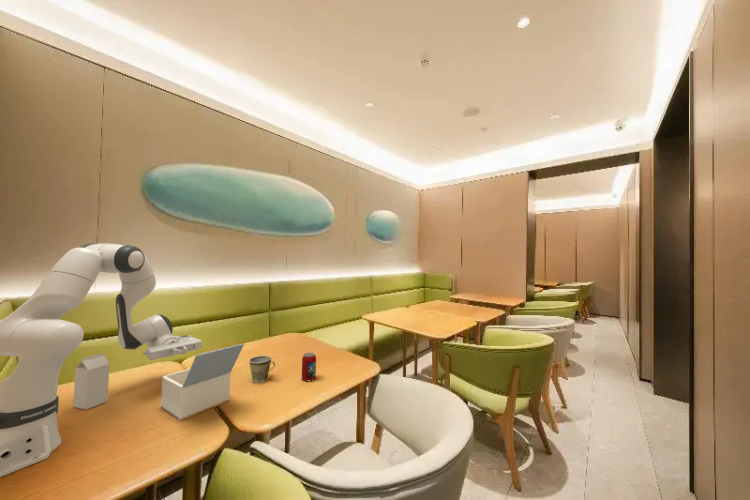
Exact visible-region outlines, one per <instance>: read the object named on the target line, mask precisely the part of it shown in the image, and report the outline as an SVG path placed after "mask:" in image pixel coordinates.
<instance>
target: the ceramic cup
mask: <svg viewBox="0 0 750 500" xmlns="http://www.w3.org/2000/svg"><path fill="white" fill-rule="evenodd" d="M248 362H249V367H250V373H251V374H250V375H251V380H252V382H253V383H256V384H257V383H264V382H265V381H267V380H268V377H269V373H270V372H271V371H272V370H273V369H274V368H275V367H276V363H275V361H272V357H271V356H269V355H258V356H254V357H253V356H252V357H251V358H250V359H249V361H248ZM271 364H273V367H271V368H270V366H271Z"/></svg>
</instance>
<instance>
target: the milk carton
mask: <svg viewBox="0 0 750 500" xmlns="http://www.w3.org/2000/svg"><path fill="white" fill-rule="evenodd" d="M110 367H111V365H110V362H109V361H108V359H107V357H106V356H105V352H101V353H98V354H94V355H89V356H85V357H82V358H81V361H80V363H79V364H78V365H76V367H75V371H74V374H75V375H74V386H73V387H74V388H73V389H74V390H73V401H72V402H73V403H72V404H73V405H72V407H73V408H77V409H80V410H81V409H82V410H88V409H91V408H93V407H96V406H98V405H101V404H104V403H106V402H108V397H109V395H108V394H109V380H110V379H109V378H110Z"/></svg>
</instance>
